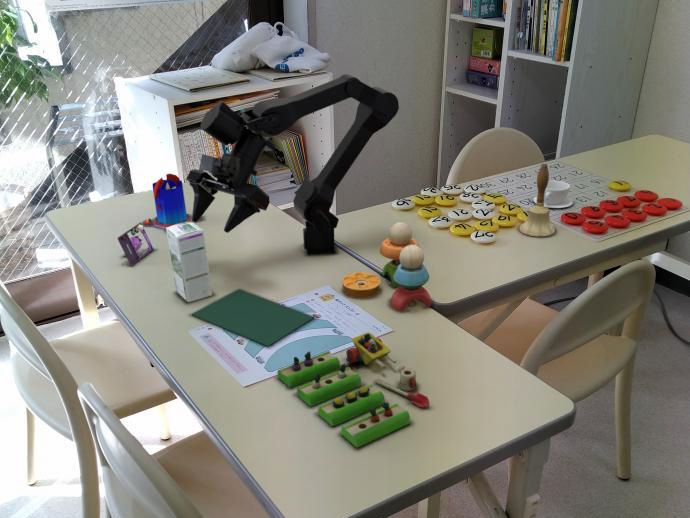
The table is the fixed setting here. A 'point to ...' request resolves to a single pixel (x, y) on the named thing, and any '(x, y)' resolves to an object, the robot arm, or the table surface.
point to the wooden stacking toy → (395, 271)
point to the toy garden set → (358, 400)
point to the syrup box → (189, 261)
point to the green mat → (253, 317)
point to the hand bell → (539, 210)
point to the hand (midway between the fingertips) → (209, 226)
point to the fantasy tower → (169, 203)
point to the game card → (134, 244)
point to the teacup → (556, 195)
